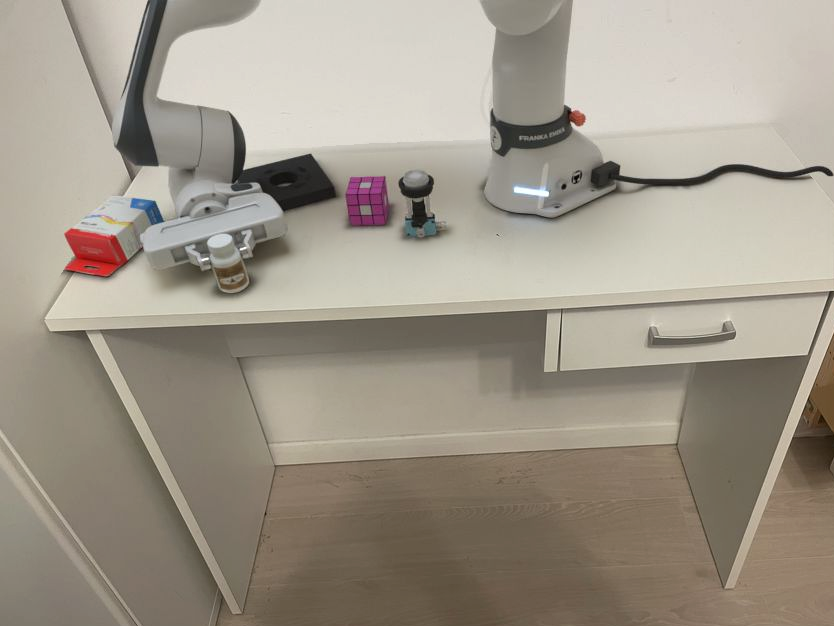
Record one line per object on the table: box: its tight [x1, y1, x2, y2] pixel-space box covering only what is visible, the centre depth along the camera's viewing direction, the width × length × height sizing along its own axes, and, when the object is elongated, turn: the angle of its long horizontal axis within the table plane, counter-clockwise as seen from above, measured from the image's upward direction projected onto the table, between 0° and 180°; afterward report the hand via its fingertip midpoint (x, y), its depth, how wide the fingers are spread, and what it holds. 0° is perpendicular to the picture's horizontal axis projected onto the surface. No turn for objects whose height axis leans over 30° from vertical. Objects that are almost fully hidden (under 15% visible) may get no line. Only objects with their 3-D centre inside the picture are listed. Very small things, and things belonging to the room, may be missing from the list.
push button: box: [397, 169, 447, 238], centre depth 105 cm, size 7×5×10 cm
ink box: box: [63, 194, 165, 277], centre depth 107 cm, size 8×5×15 cm
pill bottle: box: [207, 234, 250, 294], centre depth 98 cm, size 4×4×8 cm
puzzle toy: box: [344, 175, 390, 227], centre depth 111 cm, size 6×6×6 cm
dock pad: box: [236, 153, 337, 212], centre depth 120 cm, size 14×14×2 cm
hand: (226, 259), depth 96 cm, fingers closed on pill bottle, 4 cm apart
